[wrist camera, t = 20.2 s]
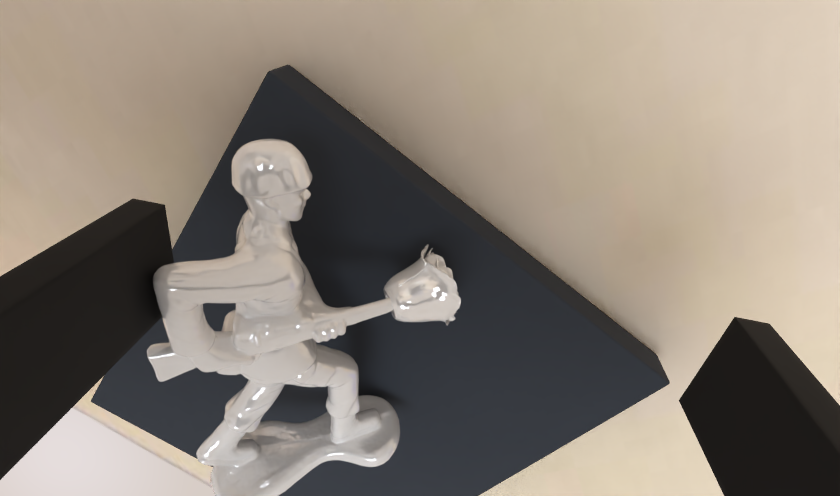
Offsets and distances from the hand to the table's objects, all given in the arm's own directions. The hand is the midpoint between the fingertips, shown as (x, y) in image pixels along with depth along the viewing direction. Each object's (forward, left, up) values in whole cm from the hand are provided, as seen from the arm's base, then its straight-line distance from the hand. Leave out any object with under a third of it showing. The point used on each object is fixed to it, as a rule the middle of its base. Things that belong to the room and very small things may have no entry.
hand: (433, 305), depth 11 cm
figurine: (+2, -9, -3) cm, 10 cm away
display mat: (+2, -9, -6) cm, 11 cm away
